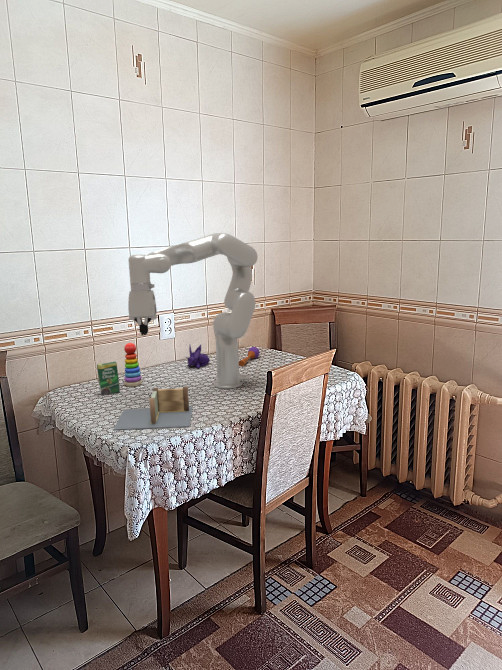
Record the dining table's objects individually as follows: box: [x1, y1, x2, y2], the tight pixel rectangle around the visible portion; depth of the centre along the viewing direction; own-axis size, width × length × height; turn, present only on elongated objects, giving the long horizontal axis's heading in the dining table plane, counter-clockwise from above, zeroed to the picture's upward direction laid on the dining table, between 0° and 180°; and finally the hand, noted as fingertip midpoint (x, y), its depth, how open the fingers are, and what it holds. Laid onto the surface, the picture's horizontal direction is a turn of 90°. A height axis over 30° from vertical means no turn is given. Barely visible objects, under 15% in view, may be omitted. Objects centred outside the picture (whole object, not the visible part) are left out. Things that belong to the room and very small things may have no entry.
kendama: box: [239, 346, 260, 368], centre depth 251 cm, size 6×6×20 cm
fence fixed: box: [152, 385, 190, 412], centre depth 184 cm, size 13×2×9 cm, turn 93°
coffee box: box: [96, 361, 121, 396], centre depth 207 cm, size 8×3×13 cm, turn 114°
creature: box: [185, 344, 210, 369], centre depth 244 cm, size 9×18×12 cm, turn 147°
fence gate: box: [149, 390, 158, 423], centre depth 178 cm, size 11×2×9 cm, turn 4°
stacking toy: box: [123, 342, 143, 387], centre depth 217 cm, size 8×8×19 cm
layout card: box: [112, 405, 194, 431], centre depth 180 cm, size 26×19×1 cm
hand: (144, 334), depth 193 cm, fingers closed
